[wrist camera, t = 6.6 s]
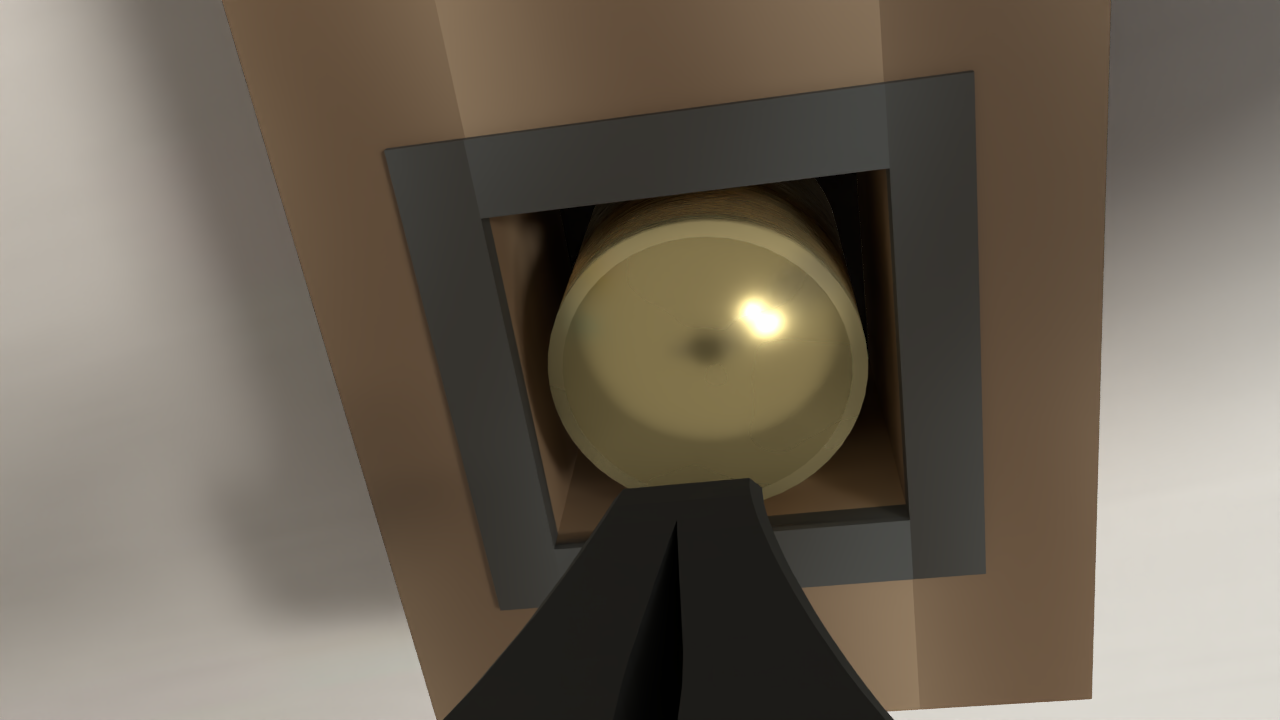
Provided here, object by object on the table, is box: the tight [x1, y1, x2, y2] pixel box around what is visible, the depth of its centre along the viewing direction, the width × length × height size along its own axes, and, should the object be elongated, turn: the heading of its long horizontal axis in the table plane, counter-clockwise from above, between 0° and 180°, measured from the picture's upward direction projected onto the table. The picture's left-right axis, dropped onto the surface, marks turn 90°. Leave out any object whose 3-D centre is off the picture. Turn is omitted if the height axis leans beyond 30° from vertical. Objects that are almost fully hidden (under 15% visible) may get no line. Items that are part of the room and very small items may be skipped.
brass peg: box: [548, 178, 868, 500], centre depth 17 cm, size 4×4×4 cm
